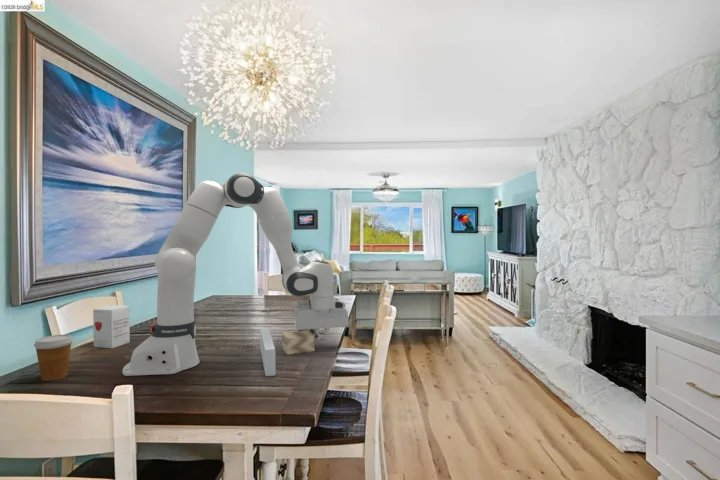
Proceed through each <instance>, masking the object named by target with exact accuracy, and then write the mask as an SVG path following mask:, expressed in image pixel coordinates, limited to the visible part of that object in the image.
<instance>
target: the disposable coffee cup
mask: <svg viewBox="0 0 720 480" xmlns="http://www.w3.org/2000/svg"><path fill="white" fill-rule="evenodd" d="M73 342H74V339H73V338H72V335H71V334H55V335H47V336H43V337H40V338H37V339H36V340H35V342H34V344H33V347H34V349H35V351H36V357H37V361H38V362H37V363H38V368H39V372H40V378H41V381H43V382H44V381H45V382H51V380H52V381H56V380H61V379H64V378H66V377H67V376H68V370H69V363H70V356H71V349H72V348H71V347H72V343H73Z"/></svg>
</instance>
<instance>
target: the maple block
mask: <svg viewBox="0 0 720 480" xmlns="http://www.w3.org/2000/svg"><path fill="white" fill-rule="evenodd" d="M281 342H282V343H281V344H282V345H281V346H282V347H281V348H282V349H283V351H284V352H285V354H287V356H288V355H294V354H295V353H296V354H304V353H303V352H305V353H311V351H313V352H315V337H314V335H313V334H312V333H311V332H309V331H308V330H306V331H298V330H296V331H287V332H285V331H284V332H282V333H281Z"/></svg>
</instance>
